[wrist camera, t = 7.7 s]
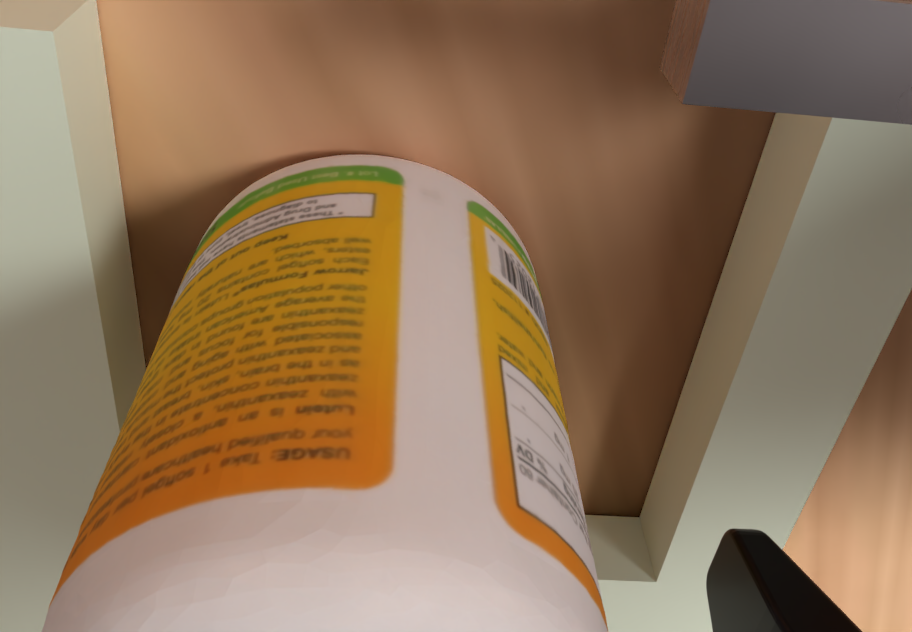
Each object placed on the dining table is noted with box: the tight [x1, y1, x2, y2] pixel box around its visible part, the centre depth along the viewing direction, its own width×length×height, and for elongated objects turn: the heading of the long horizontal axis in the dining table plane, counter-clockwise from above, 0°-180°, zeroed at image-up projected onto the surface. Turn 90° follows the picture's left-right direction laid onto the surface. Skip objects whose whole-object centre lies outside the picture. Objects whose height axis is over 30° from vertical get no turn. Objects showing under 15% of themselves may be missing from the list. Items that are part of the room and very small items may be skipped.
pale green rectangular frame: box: [0, 0, 912, 632], centre depth 15 cm, size 16×18×2 cm
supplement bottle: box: [42, 154, 608, 632], centre depth 10 cm, size 5×5×10 cm
